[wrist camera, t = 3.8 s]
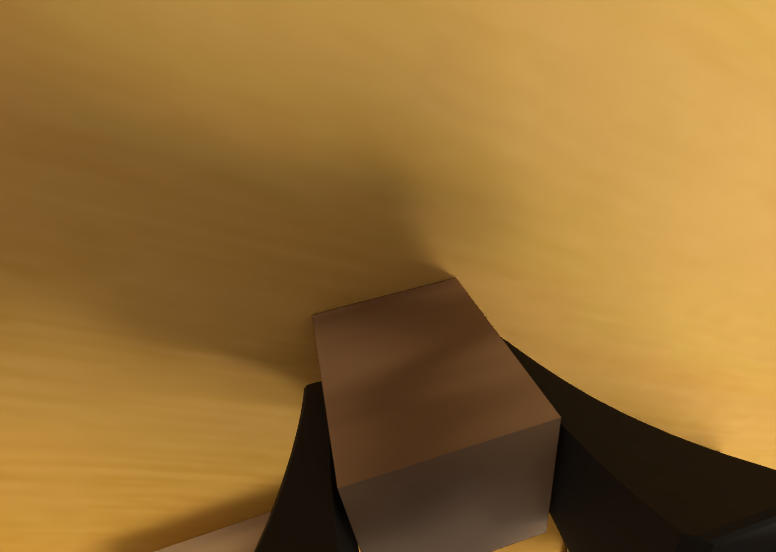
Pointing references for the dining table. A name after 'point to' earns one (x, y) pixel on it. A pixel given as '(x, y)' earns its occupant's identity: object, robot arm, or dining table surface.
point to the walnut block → (434, 425)
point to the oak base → (226, 538)
